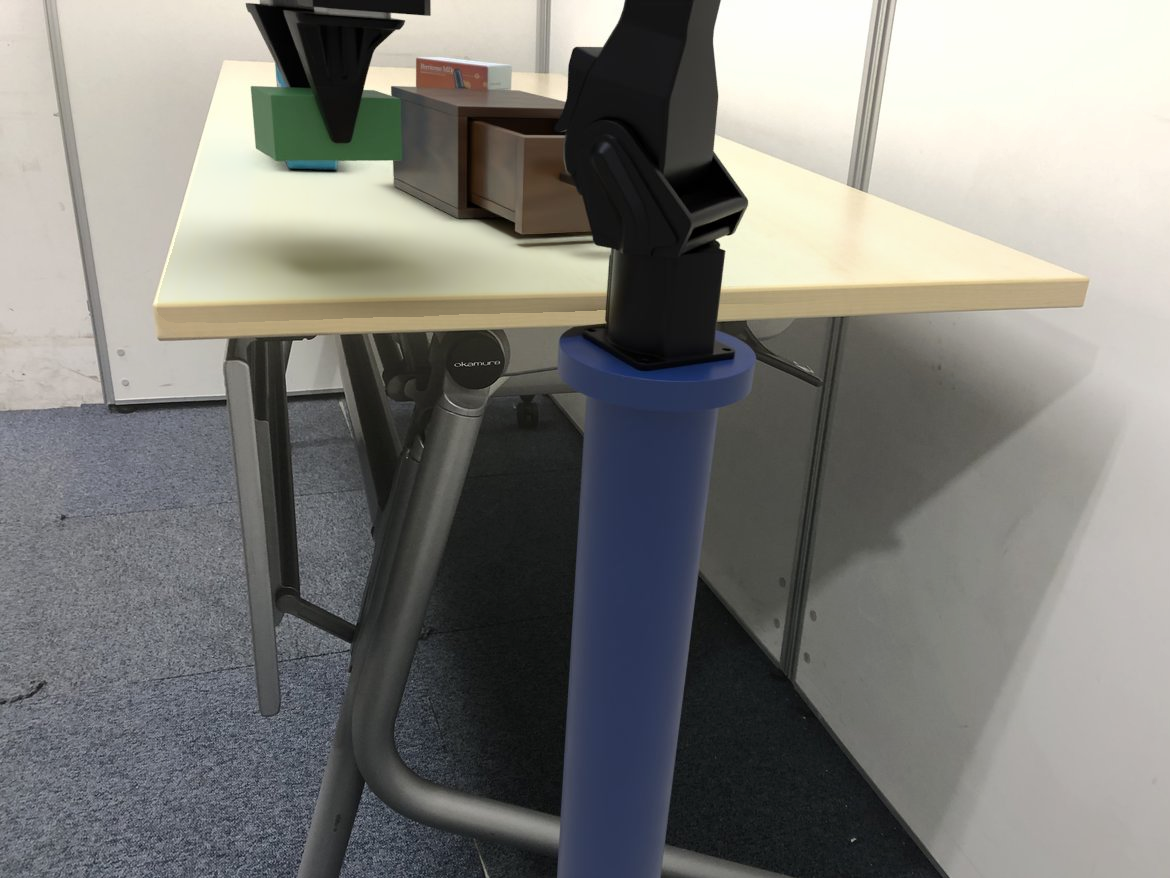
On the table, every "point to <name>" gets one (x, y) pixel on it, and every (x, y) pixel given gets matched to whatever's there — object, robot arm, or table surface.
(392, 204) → the table surface
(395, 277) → the table surface
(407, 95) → the cabinet
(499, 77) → the small box
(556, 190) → the drawer
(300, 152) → the green block
